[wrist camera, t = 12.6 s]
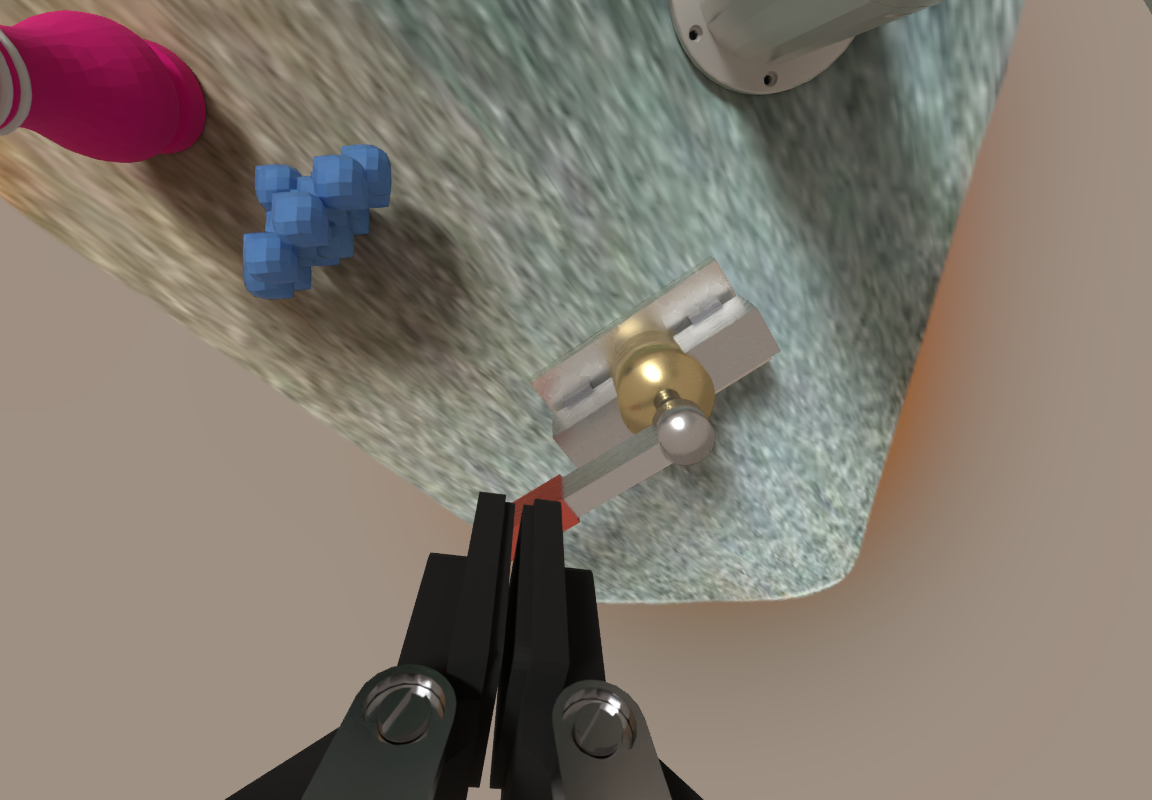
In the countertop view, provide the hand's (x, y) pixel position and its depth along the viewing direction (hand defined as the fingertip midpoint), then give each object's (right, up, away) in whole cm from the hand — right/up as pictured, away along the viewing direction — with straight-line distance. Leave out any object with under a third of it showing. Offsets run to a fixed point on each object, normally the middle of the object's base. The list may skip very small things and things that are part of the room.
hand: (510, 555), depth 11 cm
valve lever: (+2, -1, +24) cm, 24 cm away
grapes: (-14, +16, +26) cm, 34 cm away
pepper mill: (-25, +22, +23) cm, 40 cm away
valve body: (+7, +6, +32) cm, 33 cm away
